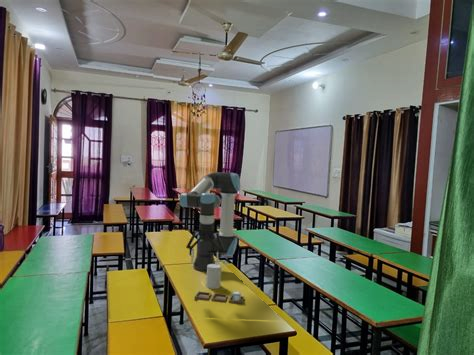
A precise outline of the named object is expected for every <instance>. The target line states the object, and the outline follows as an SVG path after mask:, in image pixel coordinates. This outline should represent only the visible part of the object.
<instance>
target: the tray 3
mask: <svg viewBox="0 0 474 355" xmlns="http://www.w3.org/2000/svg"><path fill="white" fill-rule="evenodd" d="M244 300H245V296H242V295H241V301H233V294H232V295H230V297H229V299H228V303H230V304H239V305H244Z"/></svg>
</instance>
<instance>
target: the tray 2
mask: <svg viewBox="0 0 474 355" xmlns="http://www.w3.org/2000/svg"><path fill="white" fill-rule="evenodd" d="M228 297H229V296H228V294H226V293H225V294H224V293H216V292H215V293H213V295H212V297H211V298H210V299H211V301H212V302H220V303H221V302H222V303H226V301H227V299H228Z"/></svg>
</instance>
